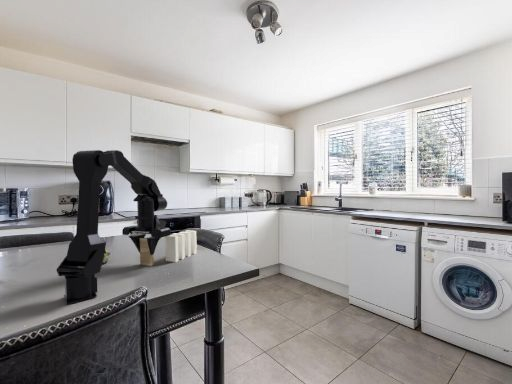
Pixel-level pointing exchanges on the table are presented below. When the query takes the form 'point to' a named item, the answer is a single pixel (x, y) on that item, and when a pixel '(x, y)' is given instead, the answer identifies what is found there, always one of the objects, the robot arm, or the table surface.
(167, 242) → the domino
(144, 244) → the domino
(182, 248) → the domino
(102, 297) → the table surface
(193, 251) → the domino
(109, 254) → the rock
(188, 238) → the domino
